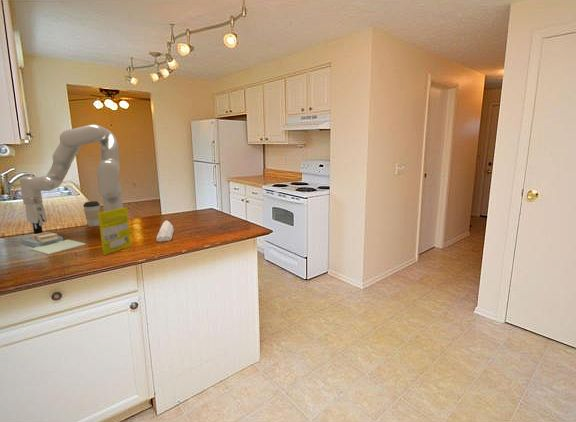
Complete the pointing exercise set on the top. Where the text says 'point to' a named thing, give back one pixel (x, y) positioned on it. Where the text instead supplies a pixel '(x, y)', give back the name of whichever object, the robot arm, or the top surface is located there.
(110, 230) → the food package
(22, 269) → the top surface
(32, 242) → the block
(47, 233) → the birch tile
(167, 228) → the crystal
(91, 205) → the coffee cup
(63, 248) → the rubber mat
